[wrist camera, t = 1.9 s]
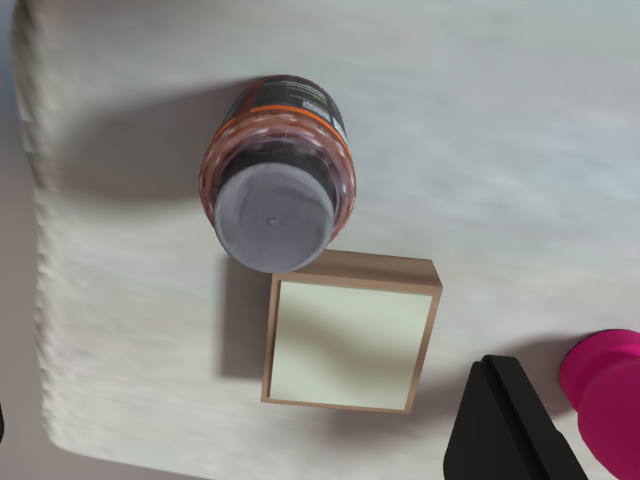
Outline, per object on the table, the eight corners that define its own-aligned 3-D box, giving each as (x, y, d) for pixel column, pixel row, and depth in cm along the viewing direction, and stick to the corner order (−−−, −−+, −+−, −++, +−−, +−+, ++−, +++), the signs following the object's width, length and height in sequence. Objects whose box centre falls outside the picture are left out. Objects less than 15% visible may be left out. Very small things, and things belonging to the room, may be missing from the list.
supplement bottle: (232, 186, 28) (187, 300, 18) (224, 71, 26) (166, 130, 16) (343, 186, 28) (359, 300, 18) (346, 72, 26) (366, 131, 16)
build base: (276, 244, 30) (272, 272, 27) (431, 260, 31) (443, 289, 28) (264, 368, 34) (260, 404, 31) (402, 380, 34) (410, 417, 32)
